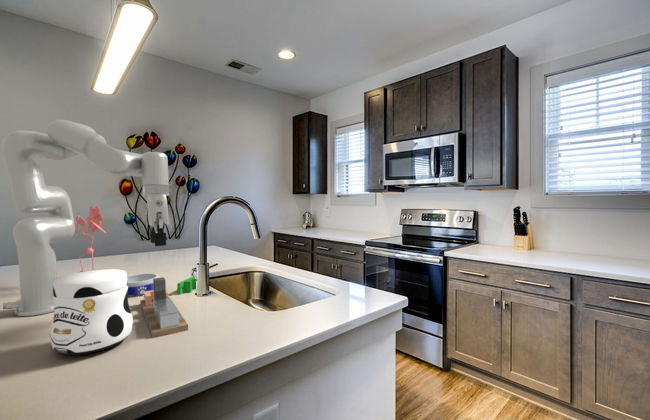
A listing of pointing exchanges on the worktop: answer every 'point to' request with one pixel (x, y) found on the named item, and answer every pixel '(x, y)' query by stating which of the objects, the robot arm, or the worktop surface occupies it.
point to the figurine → (93, 222)
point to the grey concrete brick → (166, 313)
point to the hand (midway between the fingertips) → (158, 244)
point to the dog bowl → (140, 284)
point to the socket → (150, 296)
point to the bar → (159, 288)
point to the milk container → (90, 311)
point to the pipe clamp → (187, 285)
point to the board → (153, 322)
